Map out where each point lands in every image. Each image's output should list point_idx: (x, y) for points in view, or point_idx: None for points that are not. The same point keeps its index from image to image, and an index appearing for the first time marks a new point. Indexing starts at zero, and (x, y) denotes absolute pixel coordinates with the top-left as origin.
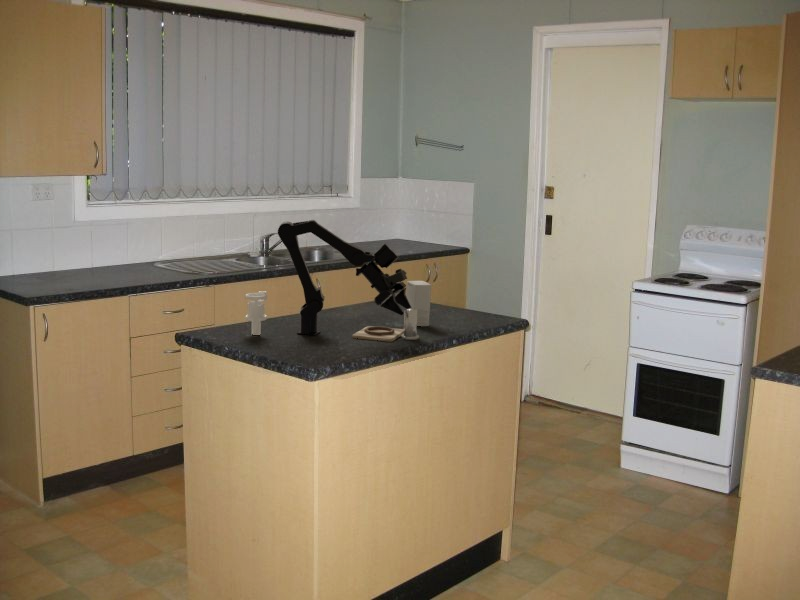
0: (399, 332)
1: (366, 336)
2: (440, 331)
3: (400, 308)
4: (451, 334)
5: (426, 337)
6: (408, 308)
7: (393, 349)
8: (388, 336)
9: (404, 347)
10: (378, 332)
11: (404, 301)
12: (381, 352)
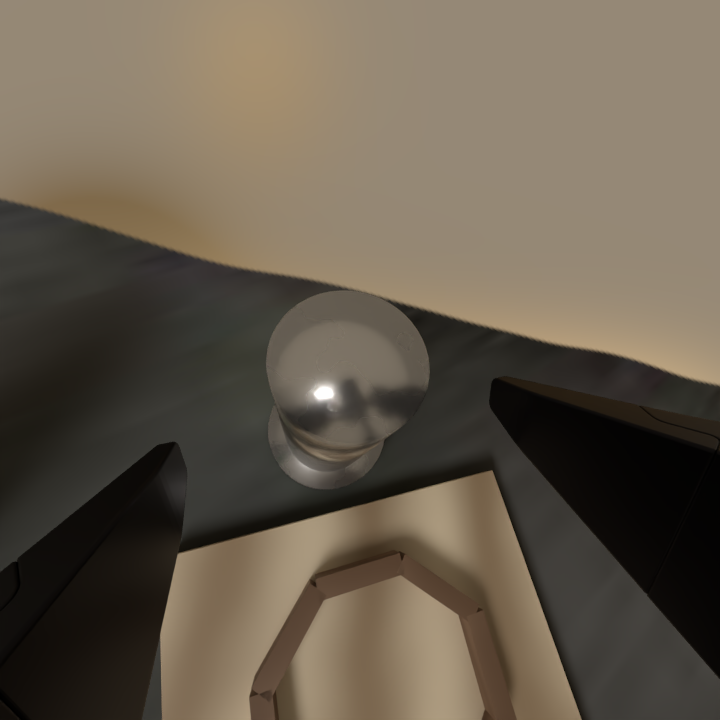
0: (292, 538)
1: (566, 678)
2: (19, 358)
3: (560, 392)
4: (91, 276)
5: (249, 359)
6: (316, 410)
7: (588, 379)
8: (451, 530)
9: (521, 355)
10: (486, 627)
11: (116, 594)
12: (667, 396)
